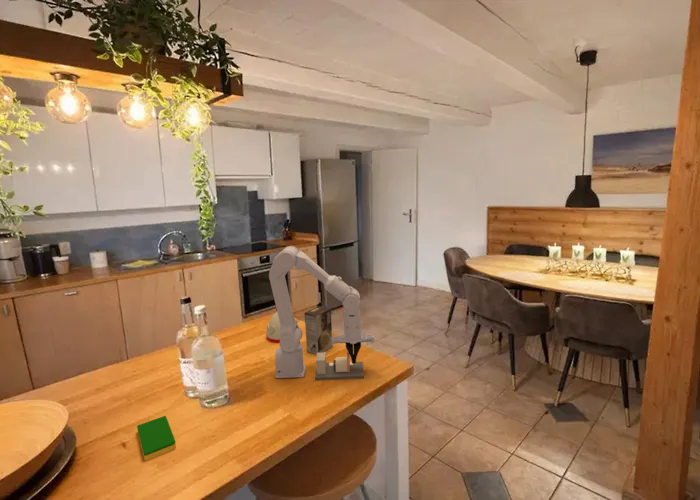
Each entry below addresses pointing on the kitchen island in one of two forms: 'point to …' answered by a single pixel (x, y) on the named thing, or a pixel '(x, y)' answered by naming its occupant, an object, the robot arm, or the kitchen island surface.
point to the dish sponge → (156, 438)
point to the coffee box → (318, 329)
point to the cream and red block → (342, 363)
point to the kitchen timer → (274, 329)
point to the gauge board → (329, 373)
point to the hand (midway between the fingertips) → (353, 362)
